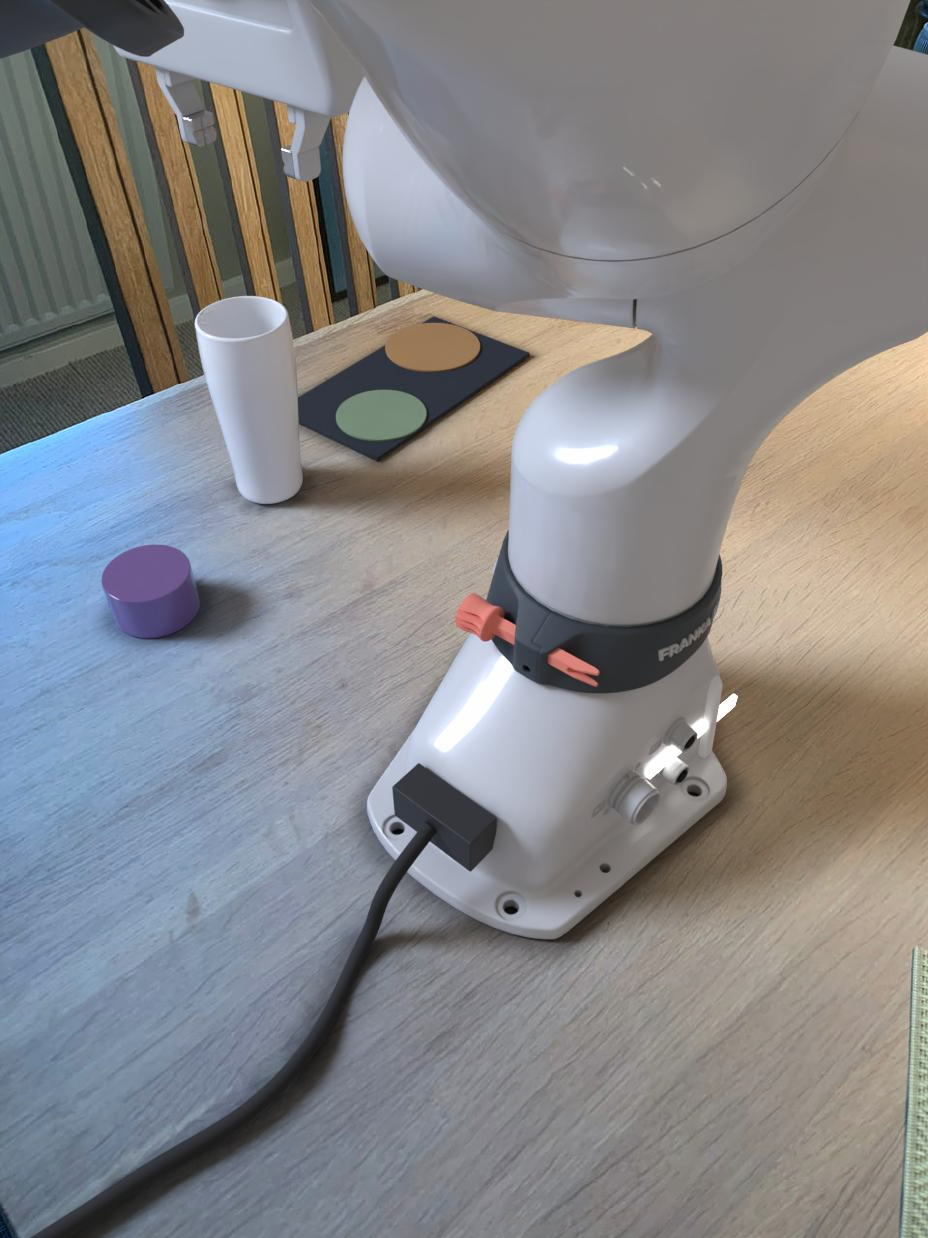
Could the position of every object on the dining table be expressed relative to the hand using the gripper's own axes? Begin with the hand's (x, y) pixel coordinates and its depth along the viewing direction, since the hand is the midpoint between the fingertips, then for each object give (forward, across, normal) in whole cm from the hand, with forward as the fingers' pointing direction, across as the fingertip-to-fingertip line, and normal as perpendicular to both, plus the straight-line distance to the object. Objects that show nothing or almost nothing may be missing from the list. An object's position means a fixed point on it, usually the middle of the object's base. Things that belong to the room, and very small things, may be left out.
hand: (250, 159), depth 63 cm
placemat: (+26, -3, +17) cm, 31 cm away
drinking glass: (+26, -2, -2) cm, 26 cm away
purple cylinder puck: (+26, +2, -17) cm, 31 cm away
